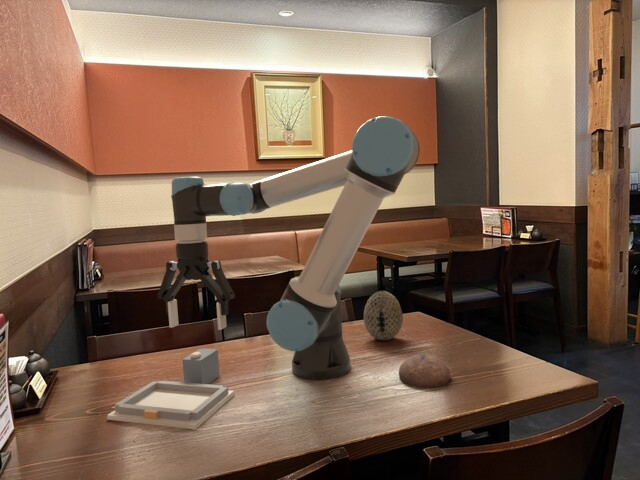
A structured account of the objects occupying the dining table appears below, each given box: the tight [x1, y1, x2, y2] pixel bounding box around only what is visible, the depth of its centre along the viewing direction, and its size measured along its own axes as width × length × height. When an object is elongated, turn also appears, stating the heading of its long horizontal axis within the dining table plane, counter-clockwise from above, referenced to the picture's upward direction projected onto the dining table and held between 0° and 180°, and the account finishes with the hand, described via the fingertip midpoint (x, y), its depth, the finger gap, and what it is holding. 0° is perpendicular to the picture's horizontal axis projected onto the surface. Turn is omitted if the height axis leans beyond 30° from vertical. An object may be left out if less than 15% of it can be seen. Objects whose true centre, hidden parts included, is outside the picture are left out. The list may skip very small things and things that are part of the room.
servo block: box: [181, 348, 221, 384], centre depth 112 cm, size 5×8×8 cm, turn 163°
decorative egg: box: [363, 290, 404, 341], centre depth 137 cm, size 12×12×15 cm
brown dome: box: [398, 353, 451, 389], centre depth 107 cm, size 12×12×6 cm
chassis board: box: [106, 380, 235, 431], centre depth 99 cm, size 21×16×2 cm
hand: (197, 327), depth 112 cm, fingers open, 13 cm apart
